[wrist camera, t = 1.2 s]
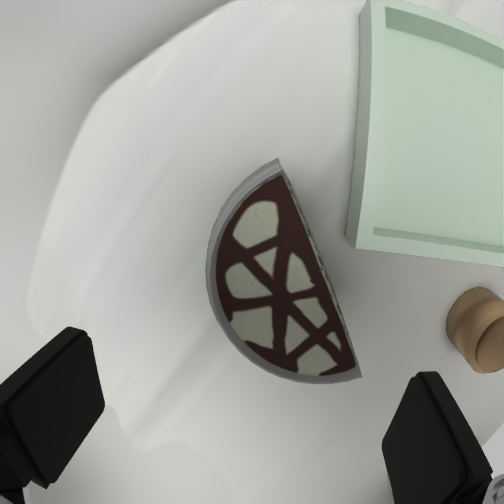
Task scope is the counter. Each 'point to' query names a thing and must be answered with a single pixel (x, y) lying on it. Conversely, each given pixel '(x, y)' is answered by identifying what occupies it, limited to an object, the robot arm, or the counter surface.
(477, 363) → the salt cellar
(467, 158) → the bin
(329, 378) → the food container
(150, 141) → the counter surface
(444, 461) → the robot arm
